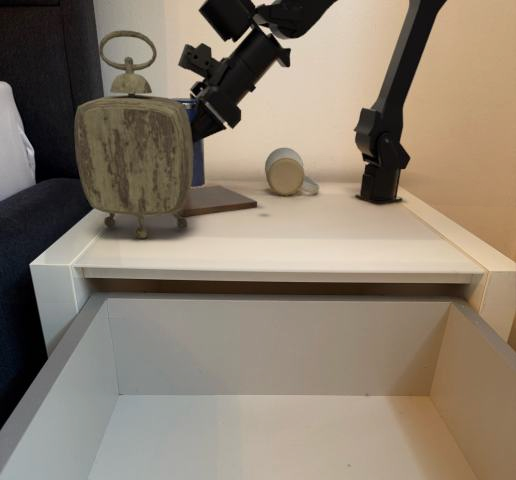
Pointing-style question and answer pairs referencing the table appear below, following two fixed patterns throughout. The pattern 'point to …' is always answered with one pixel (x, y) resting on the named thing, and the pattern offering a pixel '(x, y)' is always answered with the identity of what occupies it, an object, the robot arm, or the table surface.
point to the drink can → (195, 144)
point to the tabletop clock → (134, 147)
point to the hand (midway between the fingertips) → (179, 142)
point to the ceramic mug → (287, 173)
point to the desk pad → (214, 201)
